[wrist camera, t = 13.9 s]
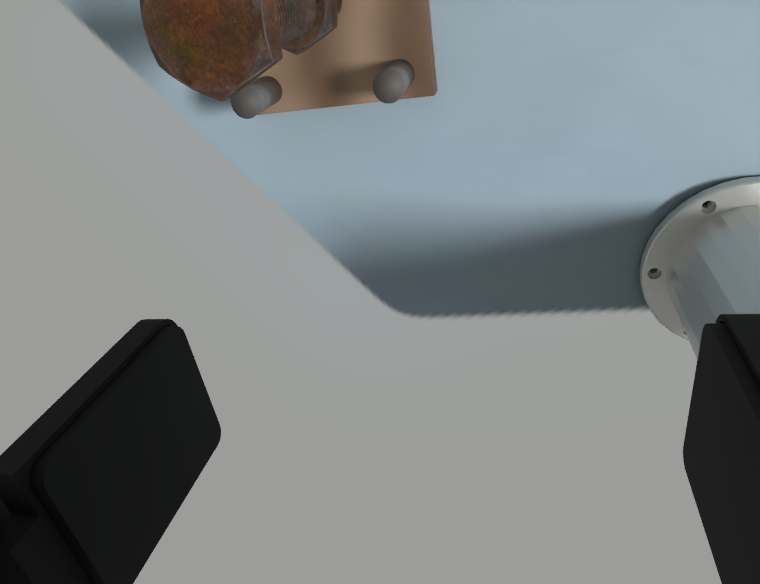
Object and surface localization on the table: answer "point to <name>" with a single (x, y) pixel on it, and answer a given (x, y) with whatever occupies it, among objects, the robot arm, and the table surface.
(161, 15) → the bolt
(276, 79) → the peg holder
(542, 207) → the table surface
